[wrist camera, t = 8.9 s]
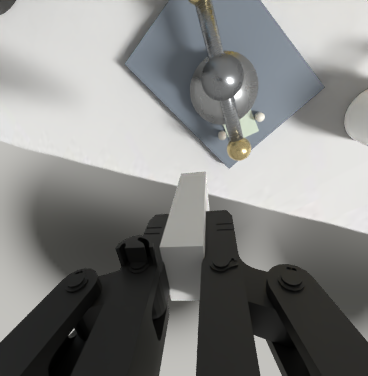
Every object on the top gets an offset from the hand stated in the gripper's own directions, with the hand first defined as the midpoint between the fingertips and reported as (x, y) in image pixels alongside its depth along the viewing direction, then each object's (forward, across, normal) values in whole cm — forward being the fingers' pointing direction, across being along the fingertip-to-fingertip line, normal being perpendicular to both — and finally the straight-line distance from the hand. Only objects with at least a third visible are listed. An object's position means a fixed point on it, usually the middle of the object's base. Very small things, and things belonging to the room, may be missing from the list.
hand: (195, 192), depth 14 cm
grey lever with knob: (+22, +3, +6) cm, 23 cm away
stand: (+24, +3, +6) cm, 25 cm away
